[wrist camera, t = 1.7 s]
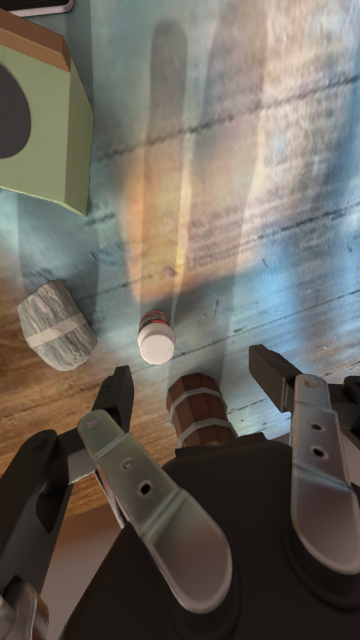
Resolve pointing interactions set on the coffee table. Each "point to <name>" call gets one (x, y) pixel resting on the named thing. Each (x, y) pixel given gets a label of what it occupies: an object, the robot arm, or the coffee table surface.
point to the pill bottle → (156, 337)
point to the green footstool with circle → (42, 116)
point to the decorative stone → (56, 327)
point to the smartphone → (35, 6)
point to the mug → (199, 412)
